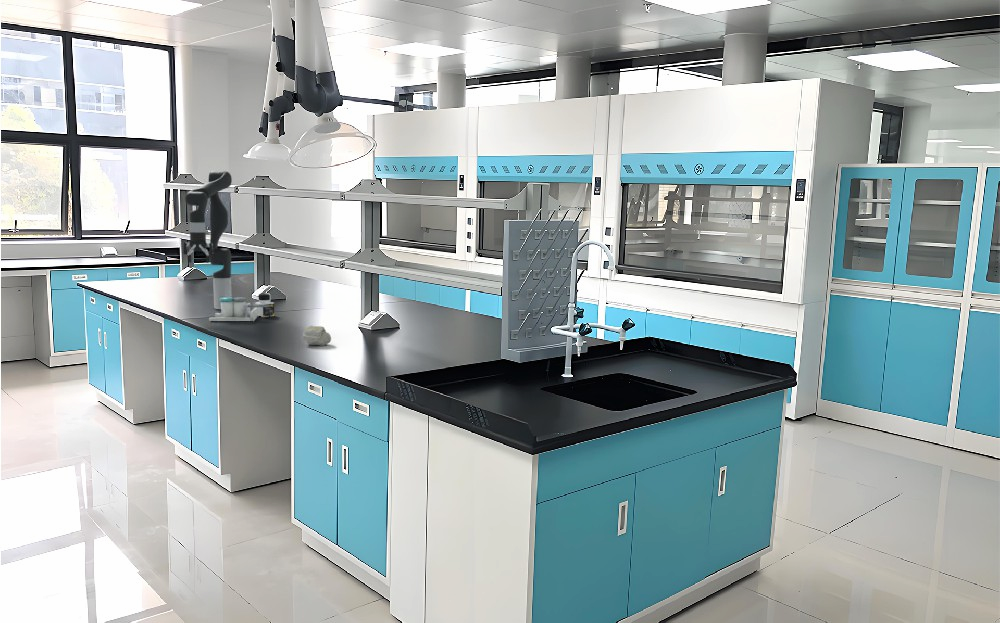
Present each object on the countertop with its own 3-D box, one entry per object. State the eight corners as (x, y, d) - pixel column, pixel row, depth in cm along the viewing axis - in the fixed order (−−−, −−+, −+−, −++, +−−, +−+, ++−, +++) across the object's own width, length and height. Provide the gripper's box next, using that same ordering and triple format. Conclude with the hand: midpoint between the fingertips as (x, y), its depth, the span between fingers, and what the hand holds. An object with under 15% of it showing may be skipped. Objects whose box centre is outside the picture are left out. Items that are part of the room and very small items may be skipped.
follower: (248, 317, 397) (248, 302, 396) (270, 317, 399) (270, 302, 397) (245, 321, 387) (244, 305, 386) (267, 321, 389) (267, 305, 387)
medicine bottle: (263, 317, 399) (262, 294, 397) (255, 315, 403) (254, 293, 401) (274, 315, 404) (274, 293, 403) (266, 314, 409) (266, 292, 407)
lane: (215, 316, 397) (215, 307, 396) (257, 316, 400) (257, 307, 400) (208, 322, 381) (208, 312, 381) (252, 322, 385) (252, 312, 384)
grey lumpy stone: (331, 347, 334) (329, 344, 343) (332, 328, 333) (330, 326, 343) (303, 346, 330) (301, 343, 339) (304, 327, 329) (302, 324, 339)
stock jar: (234, 318, 394) (234, 297, 392) (247, 318, 395) (247, 297, 393) (232, 320, 388) (232, 299, 386) (245, 320, 389) (245, 299, 387)
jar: (222, 318, 393) (221, 297, 391) (235, 318, 394) (234, 297, 392) (219, 320, 387) (218, 299, 385) (232, 320, 388) (231, 299, 386)
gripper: (213, 231, 394) (214, 262, 397) (185, 230, 392) (186, 261, 395) (210, 232, 387) (211, 263, 390) (181, 231, 385) (182, 263, 388)
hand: (198, 262), depth 392 cm, fingers open, 8 cm apart
